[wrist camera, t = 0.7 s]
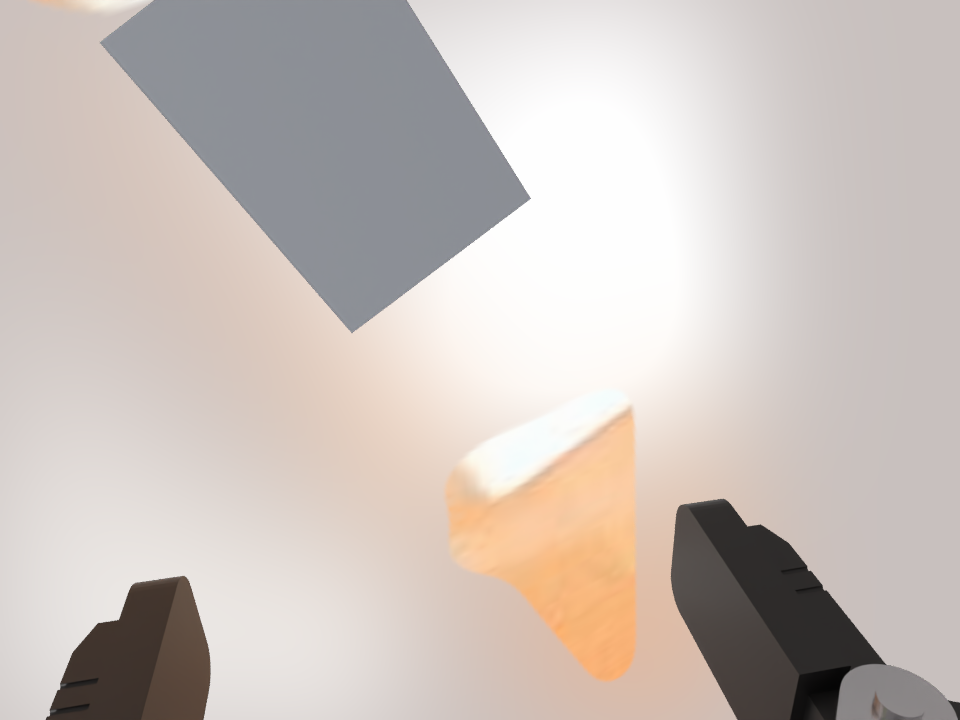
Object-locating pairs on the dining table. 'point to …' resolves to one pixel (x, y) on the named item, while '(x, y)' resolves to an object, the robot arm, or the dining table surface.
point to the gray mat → (327, 134)
